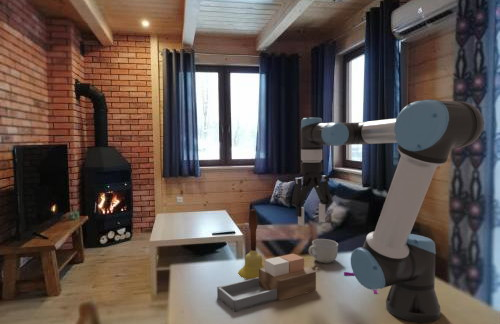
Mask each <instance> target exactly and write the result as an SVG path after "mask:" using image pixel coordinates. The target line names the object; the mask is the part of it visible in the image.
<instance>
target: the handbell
mask: <svg viewBox="0 0 500 324" xmlns="http://www.w3.org/2000/svg"><path fill="white" fill-rule="evenodd" d="M248 228H249V232H250V251H249V252H248V253H247V254H246V255H245V257H244V265H243V266H242V267H241V268H240V269H239V270H238V273H237V274H239V275H240V276H241V278H242V277H243V278H244V279H245V278H246V280H248V279H253V278H257V277H258V278H259V269H260V268H264V267H265V265H264V264H263V256H262V254H261V253H259V252H258V251H257V229H258V214H257V210H256V209H254V208H252V209H250V210H249V216H248ZM239 275H238V276H239ZM240 276H239V277H240Z"/></svg>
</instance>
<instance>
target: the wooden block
mask: <svg viewBox="0 0 500 324" xmlns="http://www.w3.org/2000/svg"><path fill="white" fill-rule="evenodd" d="M259 286H260V287H261V288H263V289H264V290H266V291H268V290H271V289H275V288H276V289H277V300H279V301H283V300H286V299H289V298H294V297H296V296H300V295H304V294H306V293H310V292H314V291H317V272H316V270H313V269H311V268H310V267H307V266H305V265H304V269H303V270H299V271H295V272H291V273H290V272H289V273H287V274H283V275H279V276H275V277H274V276H272V275H271V274H269V273H267V272H265V266H264V268H260V269H259Z"/></svg>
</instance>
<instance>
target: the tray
mask: <svg viewBox="0 0 500 324" xmlns="http://www.w3.org/2000/svg"><path fill="white" fill-rule="evenodd" d="M216 291H217V299H219V300H220V301H221V302H223V303H224V305H226V306H227V307H228V308H230V309H231V311H233V312H234V313H235V312H239V311H243V310H245V309H250V308H252V307H253V308H254V307H257V306H259V305H263V304H267V303H271V302H273V301H277V300H278V299H277V289H276V288H275V289H271V290H268V291H266V290H264V289H263V288H261V287H260V286H259V278H258V277H257V278H253V279H246V280H240V281H237V282H232V283H229V284H224V285H221V286H216Z"/></svg>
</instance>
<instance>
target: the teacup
mask: <svg viewBox="0 0 500 324" xmlns="http://www.w3.org/2000/svg"><path fill="white" fill-rule="evenodd" d="M311 243H312V244H311V245H310V246H309V248H308V254H309V255H310V256H312V257H313V258H314V260H315V261H317V262H318V263H322V264H330V263H333V262H334V261H335V260H336V259H337V257H338V251H339V243H338V242H336V241H335V240H333V239H327V238H317V239H314V240H312V241H311Z"/></svg>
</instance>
